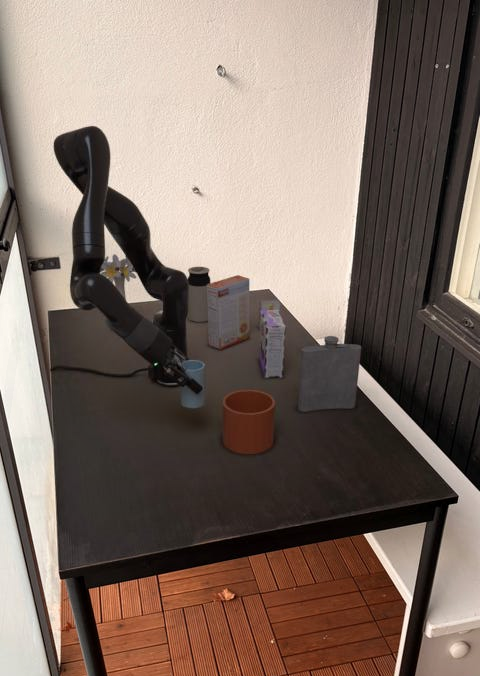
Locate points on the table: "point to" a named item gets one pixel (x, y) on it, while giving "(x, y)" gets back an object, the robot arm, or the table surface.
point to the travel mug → (198, 293)
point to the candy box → (272, 343)
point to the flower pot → (248, 421)
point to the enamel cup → (198, 374)
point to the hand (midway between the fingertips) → (199, 384)
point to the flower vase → (114, 274)
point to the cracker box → (228, 311)
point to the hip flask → (328, 376)
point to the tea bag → (268, 306)
